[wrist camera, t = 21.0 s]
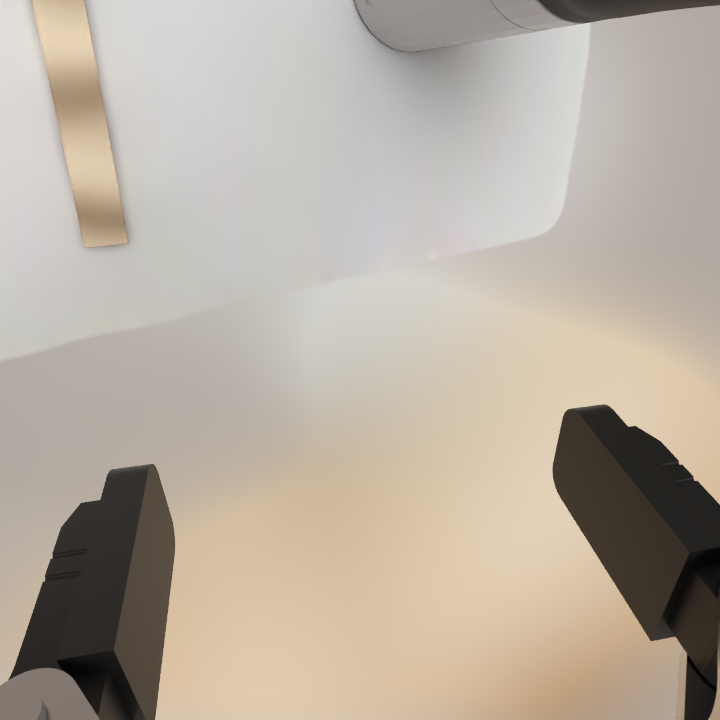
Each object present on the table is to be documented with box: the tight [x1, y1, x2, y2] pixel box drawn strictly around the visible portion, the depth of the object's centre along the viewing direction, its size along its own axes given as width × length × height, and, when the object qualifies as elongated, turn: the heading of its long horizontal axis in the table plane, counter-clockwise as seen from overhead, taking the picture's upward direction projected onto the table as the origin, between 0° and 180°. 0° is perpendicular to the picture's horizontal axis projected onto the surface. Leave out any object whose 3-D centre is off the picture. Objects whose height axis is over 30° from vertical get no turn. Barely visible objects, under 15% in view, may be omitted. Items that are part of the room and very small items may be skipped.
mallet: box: [32, 0, 128, 248], centre depth 32 cm, size 22×6×5 cm, turn 1°
